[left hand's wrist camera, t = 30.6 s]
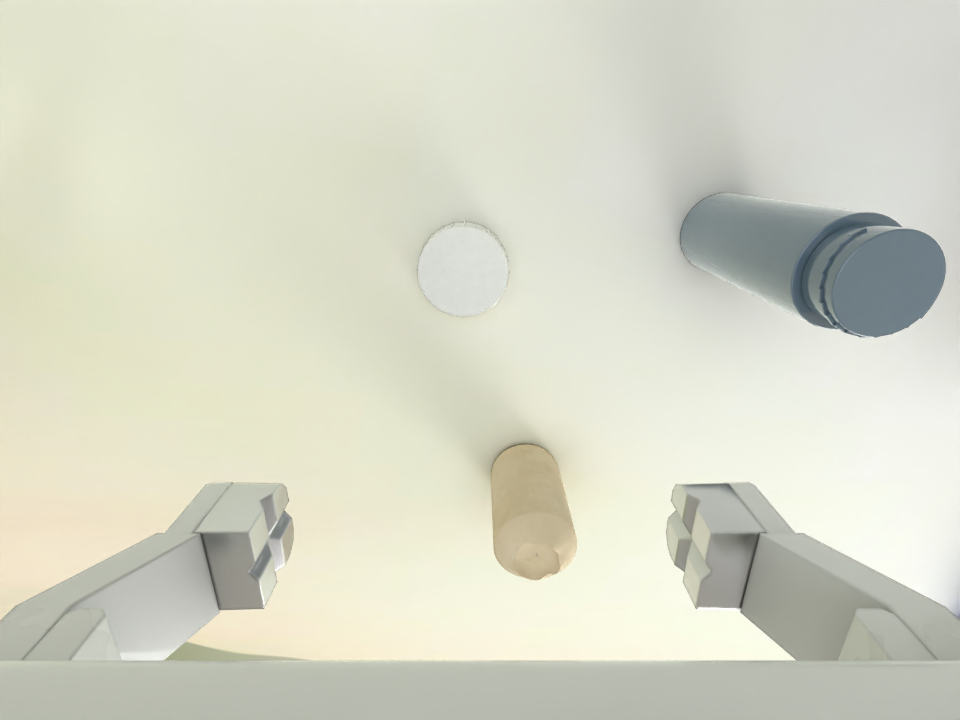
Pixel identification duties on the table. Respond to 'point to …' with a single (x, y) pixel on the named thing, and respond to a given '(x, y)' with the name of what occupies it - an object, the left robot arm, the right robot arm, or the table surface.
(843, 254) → the jar
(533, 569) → the candle
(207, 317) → the table surface
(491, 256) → the lid
